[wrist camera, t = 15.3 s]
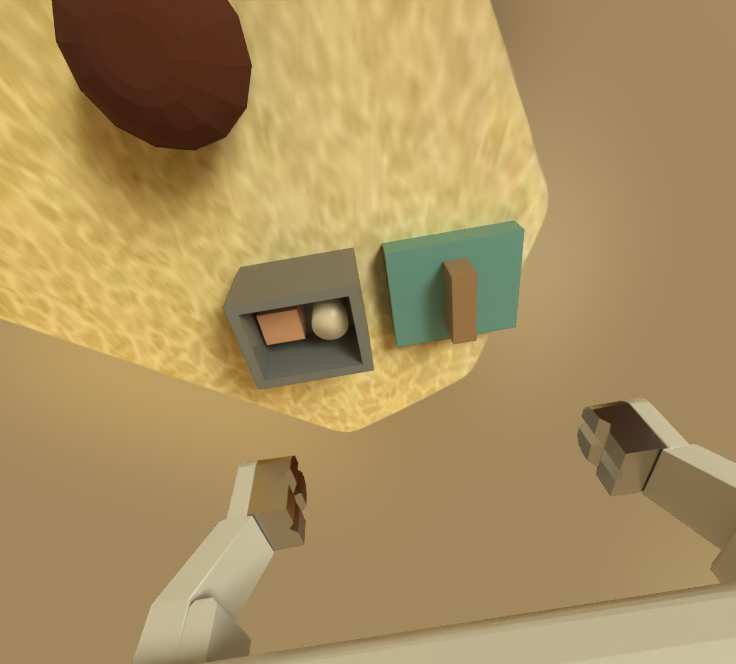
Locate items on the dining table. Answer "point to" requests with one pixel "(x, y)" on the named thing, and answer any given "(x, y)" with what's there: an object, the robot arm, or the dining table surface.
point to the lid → (454, 283)
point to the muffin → (158, 65)
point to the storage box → (300, 319)
